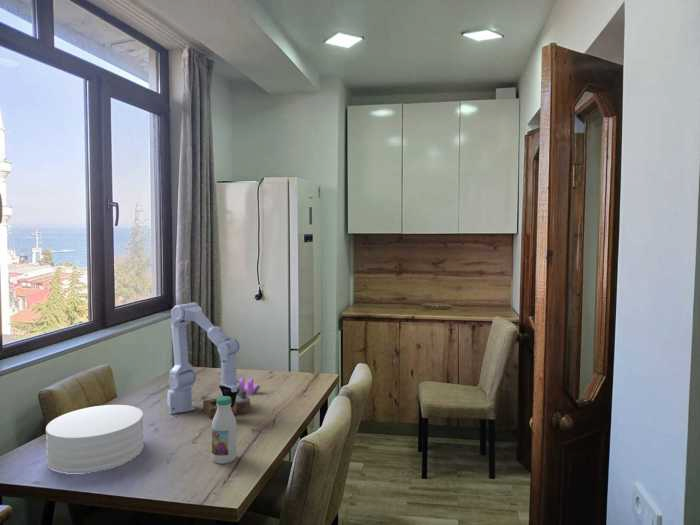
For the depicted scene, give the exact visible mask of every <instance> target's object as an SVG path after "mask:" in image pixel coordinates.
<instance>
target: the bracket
mask: <svg viewBox="0 0 700 525" xmlns="http://www.w3.org/2000/svg"><path fill="white" fill-rule="evenodd" d="M238 380H239V381H240V382H239V383H238V386H240V387H241V388H243V389H244V390H245V391H246V396H251V395H253V394H254V392H256V390H257V389H258V383H255V382H254V378H249V379H248V380H247V383H246V382H245V377H244V378H242V377H240V379H238ZM245 383H246V384H245Z"/></svg>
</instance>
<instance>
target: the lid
mask: <svg viewBox="0 0 700 525" xmlns="http://www.w3.org/2000/svg"><path fill="white" fill-rule="evenodd" d="M237 388H238V389H239V392H238V394H237V396H236V404H239V403H245V402H250V403H251V399H250V397H248V395H246V391H245V390H244V389H243V388H241V387H240V386H239V385H237ZM221 396H223V395H222V394H219V397H221Z"/></svg>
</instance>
